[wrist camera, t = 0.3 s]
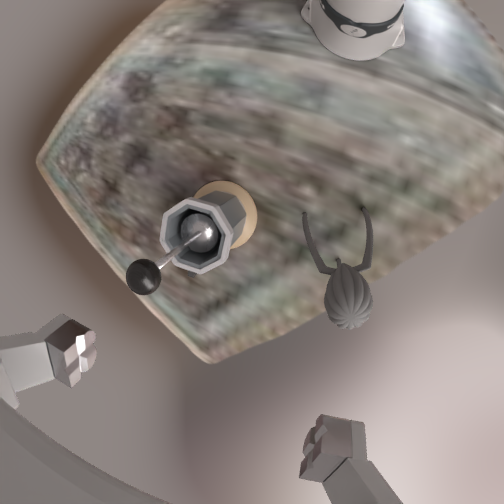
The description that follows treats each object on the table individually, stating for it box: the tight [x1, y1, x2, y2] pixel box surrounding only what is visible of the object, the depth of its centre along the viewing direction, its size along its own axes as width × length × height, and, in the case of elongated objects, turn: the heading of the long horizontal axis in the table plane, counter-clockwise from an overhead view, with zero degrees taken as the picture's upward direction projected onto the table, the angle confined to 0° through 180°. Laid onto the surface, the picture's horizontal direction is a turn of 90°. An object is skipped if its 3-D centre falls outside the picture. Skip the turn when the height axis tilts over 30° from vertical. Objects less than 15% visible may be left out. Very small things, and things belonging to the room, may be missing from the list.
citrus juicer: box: [302, 207, 373, 330], centre depth 40 cm, size 11×10×30 cm
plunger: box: [126, 213, 219, 295], centre depth 38 cm, size 6×6×19 cm
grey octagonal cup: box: [160, 181, 257, 278], centre depth 50 cm, size 14×13×14 cm
